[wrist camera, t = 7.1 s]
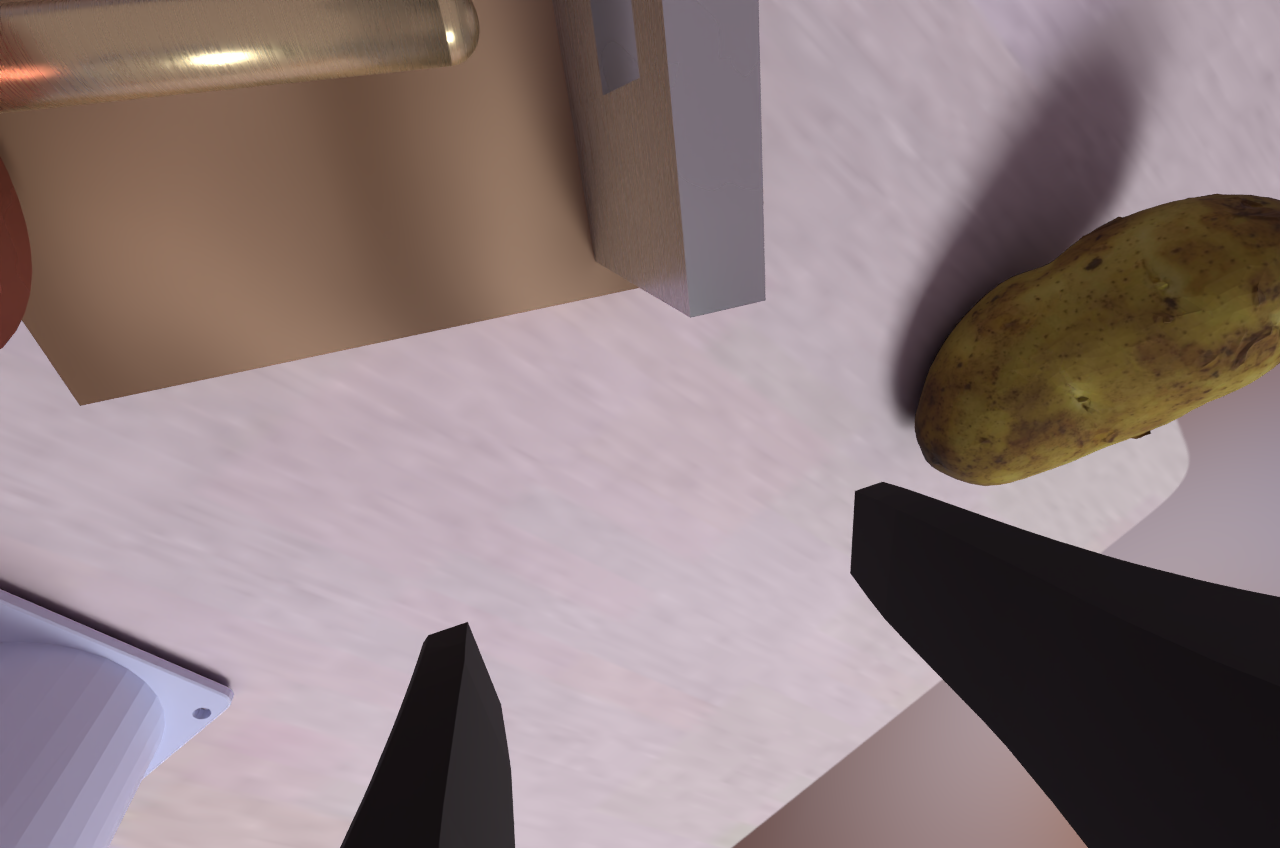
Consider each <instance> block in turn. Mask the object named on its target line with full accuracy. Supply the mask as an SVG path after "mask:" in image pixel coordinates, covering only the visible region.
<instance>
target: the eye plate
mask: <svg viewBox="0 0 1280 848" xmlns="http://www.w3.org/2000/svg"><path fill="white" fill-rule="evenodd" d="M552 2H553V8H554V14H555V20H556V26H557V32H558V38H559V44H560V50H561V56H562V62H563V69H564V75H565V81H566V87H567V93H568V99H569V105H570V111H571V117H572V123H573V129H574V135H575V141H576V147H577V153H578V159H579V166H580V172H581V178H582V184H583V190H584V196H585V202H586V208H587V214H588V220H589V226H590V232H591V238H592V244H593V250H594V256H595V262H597V263H598V264H600V265H602V266H604V267H605V268H607V269H609V270H610V271H612V272H614V273H615V274H617V275H619V276H621V277H622V278H624V279H626V280H627V281H629V282H631V283H633V284H634V285H636V286H638V287H639V288H641V289H643V290H644V291H646V292H648V293H650V294H651V295H653V296H655V297H656V298H658V299H660V300H661V301H663V302H665V303H667V304H668V305H670V306H672V307H673V308H675V309H677V310H679V311H680V312H682V313H684V314H685V315H687V316H689V317H690V318H691V317H695V316H699V315H704V314H708V313H712V312H717V311H721V310H726V309H730V308H734V307H739V306H743V305H747V304H752V303H756V302H760V301H765V260H764V217H763V174H762V132H761V89H760V46H759V3H758V0H552Z"/></svg>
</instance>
